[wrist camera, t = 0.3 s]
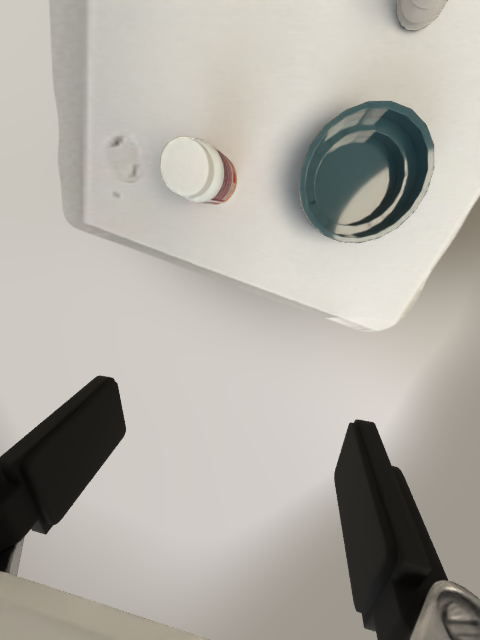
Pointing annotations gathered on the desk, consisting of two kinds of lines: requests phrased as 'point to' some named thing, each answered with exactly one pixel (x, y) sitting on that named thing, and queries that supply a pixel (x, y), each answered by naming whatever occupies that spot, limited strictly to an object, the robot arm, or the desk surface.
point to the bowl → (366, 171)
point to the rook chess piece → (418, 12)
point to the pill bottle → (197, 171)
